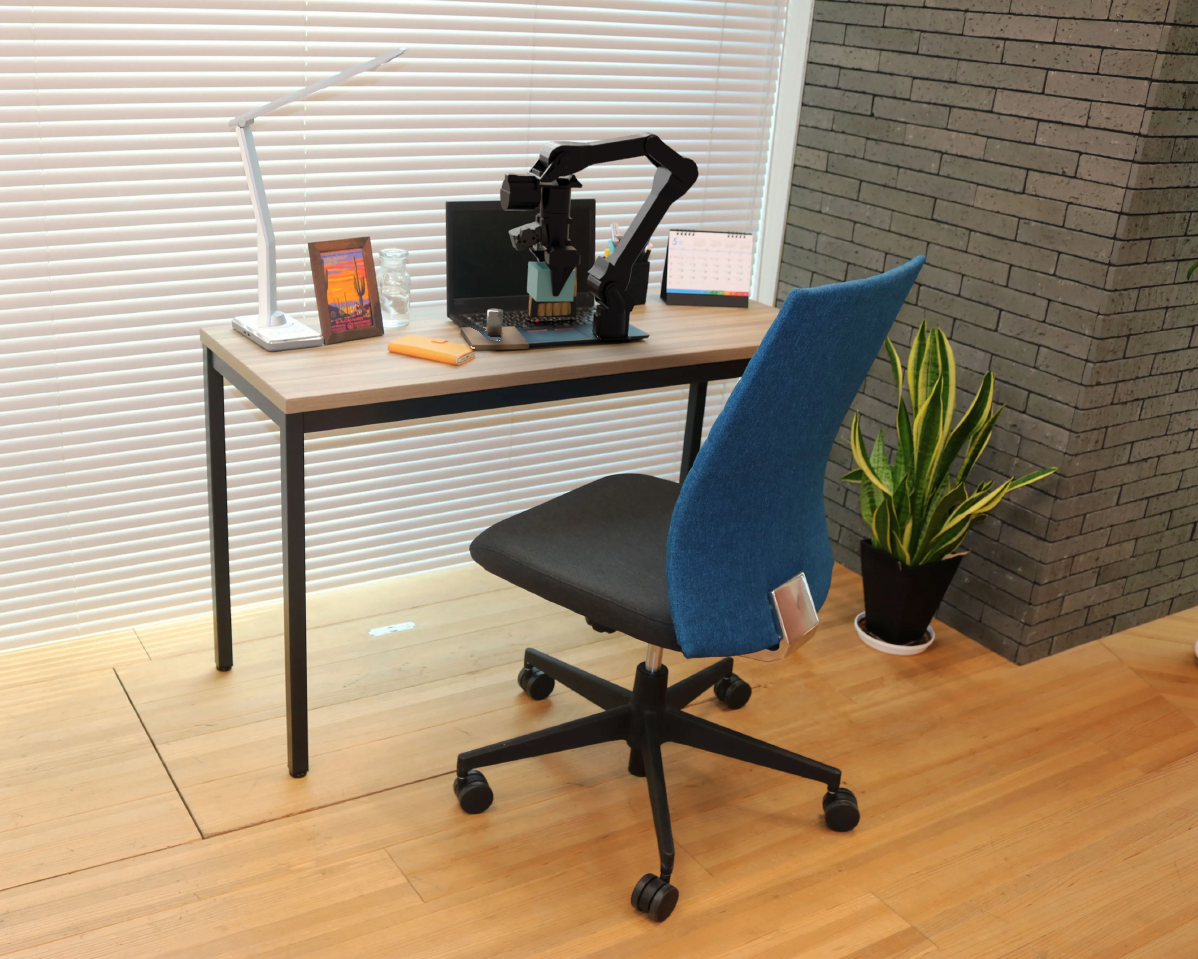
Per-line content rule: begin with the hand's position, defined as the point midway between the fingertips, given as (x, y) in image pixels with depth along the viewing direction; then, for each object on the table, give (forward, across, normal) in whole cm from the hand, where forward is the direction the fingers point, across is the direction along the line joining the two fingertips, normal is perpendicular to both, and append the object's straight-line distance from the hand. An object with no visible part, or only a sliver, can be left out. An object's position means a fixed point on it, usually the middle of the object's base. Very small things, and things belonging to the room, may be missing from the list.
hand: (550, 291), depth 224 cm
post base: (+10, 0, -11) cm, 15 cm away
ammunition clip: (+10, -14, +5) cm, 18 cm away
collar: (+1, 0, 0) cm, 1 cm away
